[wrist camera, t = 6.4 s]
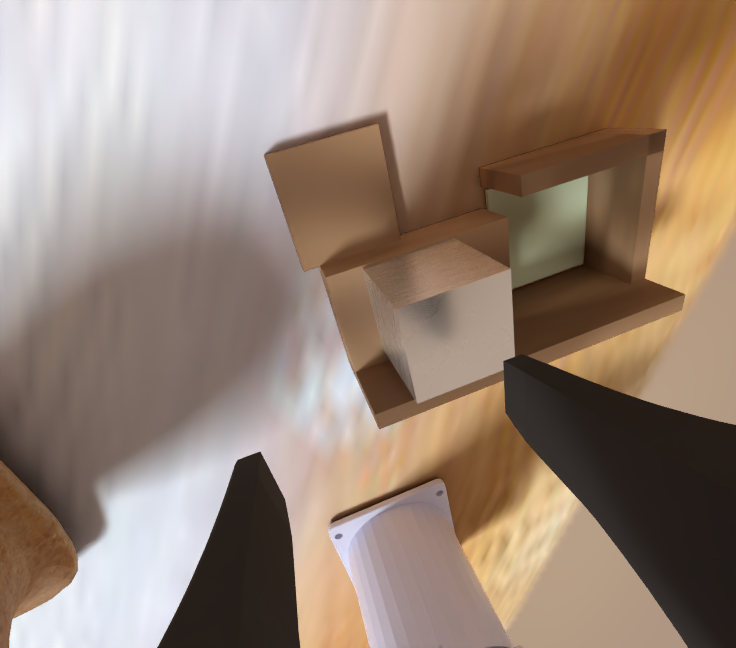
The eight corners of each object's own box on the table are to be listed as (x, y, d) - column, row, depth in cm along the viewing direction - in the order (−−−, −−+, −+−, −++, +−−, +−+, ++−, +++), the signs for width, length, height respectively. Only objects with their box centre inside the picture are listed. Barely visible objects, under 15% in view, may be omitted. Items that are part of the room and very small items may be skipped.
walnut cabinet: (595, 273, 22) (681, 310, 17) (336, 367, 20) (362, 436, 15) (611, 56, 17) (739, 33, 12) (263, 155, 15) (273, 168, 10)
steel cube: (463, 319, 18) (515, 365, 15) (382, 348, 18) (417, 403, 14) (453, 237, 16) (511, 268, 13) (362, 268, 16) (396, 309, 12)
